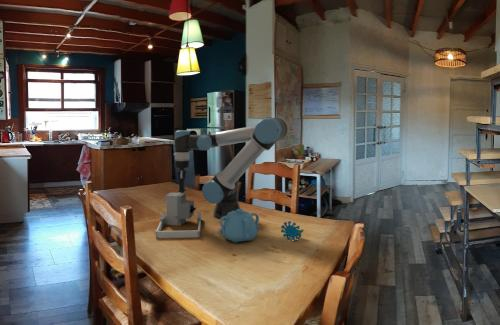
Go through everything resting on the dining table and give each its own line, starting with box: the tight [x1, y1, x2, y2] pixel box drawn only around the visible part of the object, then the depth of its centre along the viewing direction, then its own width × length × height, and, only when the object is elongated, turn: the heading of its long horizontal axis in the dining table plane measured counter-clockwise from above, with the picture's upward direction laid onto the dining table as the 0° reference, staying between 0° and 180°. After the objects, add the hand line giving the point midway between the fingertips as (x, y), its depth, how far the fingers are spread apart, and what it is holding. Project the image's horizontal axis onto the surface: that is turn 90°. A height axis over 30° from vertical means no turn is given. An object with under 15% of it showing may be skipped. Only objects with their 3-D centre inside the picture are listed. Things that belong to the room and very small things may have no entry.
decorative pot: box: [218, 208, 260, 244], centre depth 180 cm, size 16×16×14 cm
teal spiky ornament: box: [280, 220, 305, 241], centre depth 182 cm, size 11×6×10 cm
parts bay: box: [155, 220, 202, 239], centre depth 190 cm, size 20×17×3 cm
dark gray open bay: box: [159, 211, 202, 228], centre depth 204 cm, size 20×13×4 cm, turn 96°
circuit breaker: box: [164, 191, 197, 227], centre depth 203 cm, size 8×14×15 cm, turn 78°
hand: (182, 203), depth 214 cm, fingers closed
